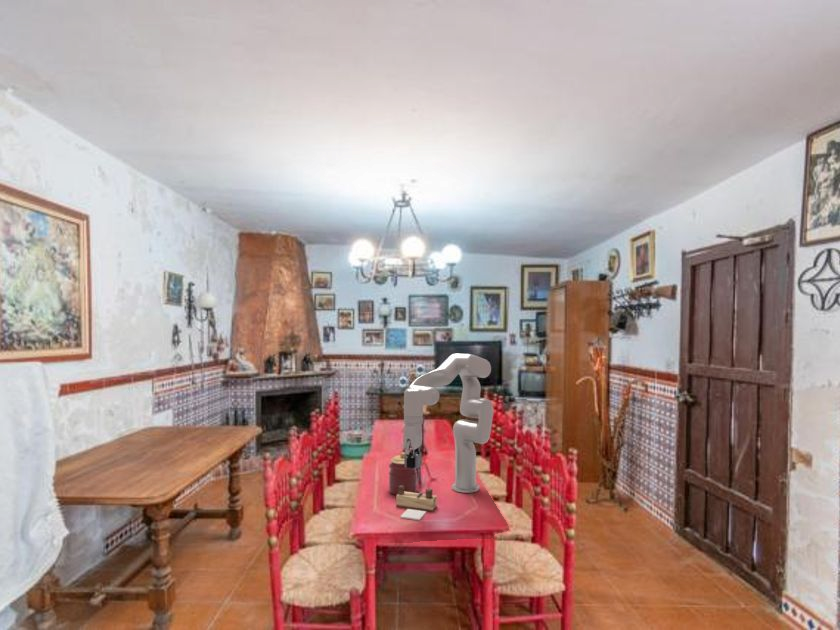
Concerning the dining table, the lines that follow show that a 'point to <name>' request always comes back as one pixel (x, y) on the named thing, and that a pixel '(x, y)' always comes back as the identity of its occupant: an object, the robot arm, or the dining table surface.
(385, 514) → the dining table surface
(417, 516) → the felt pad
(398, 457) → the canister
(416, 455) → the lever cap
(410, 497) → the plane body
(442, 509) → the dining table surface
